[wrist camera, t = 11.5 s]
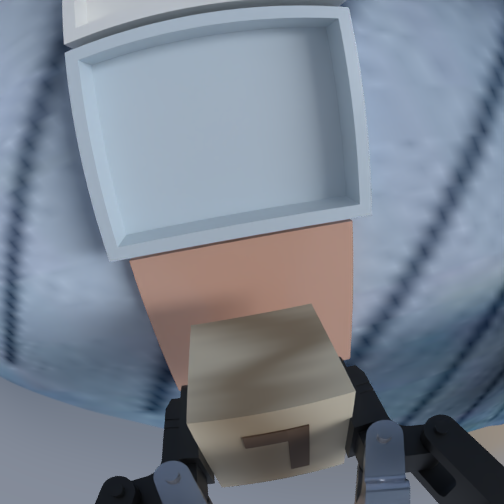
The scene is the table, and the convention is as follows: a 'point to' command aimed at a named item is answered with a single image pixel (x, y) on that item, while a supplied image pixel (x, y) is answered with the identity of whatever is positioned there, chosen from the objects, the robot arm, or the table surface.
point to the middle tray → (221, 127)
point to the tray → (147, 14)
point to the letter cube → (267, 396)
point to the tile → (249, 284)
